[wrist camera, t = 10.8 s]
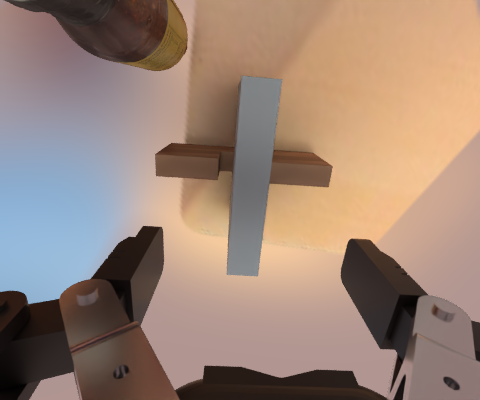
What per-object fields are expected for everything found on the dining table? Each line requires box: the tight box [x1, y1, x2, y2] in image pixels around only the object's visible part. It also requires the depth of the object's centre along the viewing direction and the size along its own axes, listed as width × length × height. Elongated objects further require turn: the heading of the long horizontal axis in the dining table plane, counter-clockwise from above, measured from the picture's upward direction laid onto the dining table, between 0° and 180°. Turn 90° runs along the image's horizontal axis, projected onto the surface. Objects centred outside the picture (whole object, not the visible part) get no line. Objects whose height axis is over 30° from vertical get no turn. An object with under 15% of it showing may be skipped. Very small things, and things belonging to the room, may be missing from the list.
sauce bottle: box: [5, 0, 188, 71], centre depth 17 cm, size 7×6×20 cm
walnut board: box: [155, 143, 333, 187], centre depth 28 cm, size 2×16×6 cm, turn 86°
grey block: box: [227, 76, 282, 276], centre depth 25 cm, size 14×2×13 cm, turn 175°
